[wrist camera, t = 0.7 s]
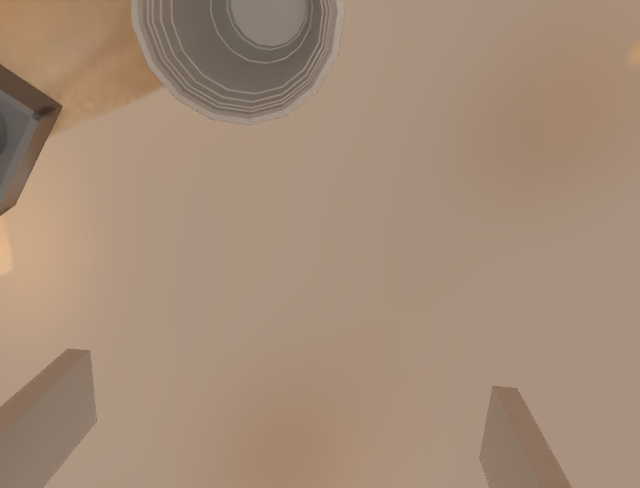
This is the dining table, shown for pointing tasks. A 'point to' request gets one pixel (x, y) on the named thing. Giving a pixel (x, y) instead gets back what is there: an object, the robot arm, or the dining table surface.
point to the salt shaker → (2, 133)
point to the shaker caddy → (22, 133)
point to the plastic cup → (240, 52)
